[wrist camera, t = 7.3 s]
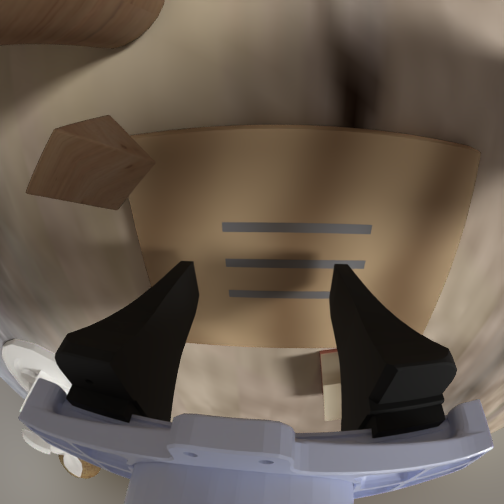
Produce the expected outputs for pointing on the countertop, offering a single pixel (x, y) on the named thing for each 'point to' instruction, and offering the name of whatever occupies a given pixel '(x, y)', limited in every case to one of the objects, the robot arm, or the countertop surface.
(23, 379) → the dish
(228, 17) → the countertop surface
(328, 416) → the block
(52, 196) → the wooden block set
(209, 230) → the board
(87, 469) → the potato
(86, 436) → the robot arm
